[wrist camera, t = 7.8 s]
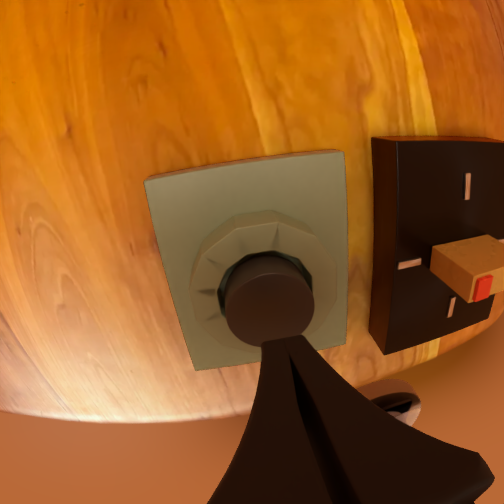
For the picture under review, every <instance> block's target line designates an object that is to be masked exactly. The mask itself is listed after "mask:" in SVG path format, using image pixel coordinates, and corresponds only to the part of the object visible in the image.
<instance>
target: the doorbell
mask: <svg viewBox="0 0 504 504" xmlns="http://www.w3.org/2000/svg"><path fill="white" fill-rule="evenodd" d="M144 187H145V192H146V196H147V201H148V205H149V210H150V214H151V218H152V223H153V227H154V231H155V235H156V239H157V243H158V247H159V251H160V255H161V259H162V263H163V267H164V270H165V274H166V278H167V281H168V285H169V288H170V292H171V295H172V299H173V302H174V306H175V309H176V313H177V316H178V319H179V322H180V326H181V329H182V332H183V335H184V338H185V342H186V345H187V348H188V351H189V354H190V357H191V360H192V363H193V366H194V369H195V371H199V370H207V369H214V368H222V367H229V366H236V365H242V364H249V363H255V362H261V347H255V346H252V345H249V344H246V343H244V342H242V341H241V340H239V339H238V338H237V337H236V336H235V335H234V334H233V333H232V332H231V330H230V329H229V327H228V324H227V321H226V314H225V297H224V290H225V285H226V282H227V279H228V277H229V275H230V274H231V273H232V271H233V270H234V269H235V268H236V267H237V266H238V265H239V264H241V263H242V262H244V261H246V260H248V259H250V258H252V257H255V256H260V255H276V256H280V257H283V258H285V259H288V260H289V261H291V262H292V263H293V264H295V265H296V266H297V267H298V269H299V270H300V272H301V273H302V275H303V277H304V279H305V281H306V283H307V284H308V286H309V288H310V290H311V292H312V294H313V297H314V302H315V310H314V315H313V318H312V320H311V322H310V324H309V326H308V327H307V328H306V330H305V331H304V332H303V333H302V335H303V336H305V337H306V339H307V340H308V341H309V343H310V344H311V345H312V346H313V348H314V349H315V350H316V351H318V350H322V349H327V348H331V347H335V346H340V345H344V344H346V331H347V305H348V217H347V192H346V173H345V158H344V152H343V151H339V150H335V149H332V150H320V151H310V152H300V153H291V154H282V155H274V156H266V157H259V158H252V159H245V160H238V161H231V162H225V163H218V164H212V165H206V166H201V167H195V168H189V169H184V170H179V171H174V172H168V173H163V174H159V175H154V176H149V177H148V178H147V179H146V180H144Z"/></svg>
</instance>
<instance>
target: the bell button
mask: <svg viewBox="0 0 504 504" xmlns="http://www.w3.org/2000/svg"><path fill="white" fill-rule="evenodd" d="M224 297H225V314H226V321H227V324H228V327H229V329H230V330H231V332H232V333H233V334H234V335H235V336H236V337H237V338H238V339H239V340H241V341H242V342H244V343H246V344H249V345H252V346H255V347H261V344H262V343H263V342H264V341H269V340H275V339H280V338H286V337H291V336H296V335H301V334H302V333H303V332H304V331H305V330H306V328H307V327H308V326H309V324H310V322H311V320H312V318H313V315H314V310H315V302H314V297H313V294H312V292H311V290H310V288H309V286H308V284H307V283H306V281H305V279H304V277H303V275H302V273H301V272H300V270H299V269H298V267H297V266H296V265H295V264H293V263H292V262H291V261H289V260H288V259H285V258H283V257H280V256H276V255H260V256H255V257H252V258H250V259H248V260H246V261H244V262H242V263H241V264H239V265H238V266H237V267H236V268H235V269H234V270H233V271H232V273H231V274H230V275H229V277H228V279H227V282H226V285H225V290H224Z"/></svg>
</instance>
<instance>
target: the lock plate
mask: <svg viewBox="0 0 504 504" xmlns="http://www.w3.org/2000/svg"><path fill="white" fill-rule="evenodd" d="M371 139H372V155H373V178H374V258H373V281H372V297H371V310H370V322H369V333H370V335H371V336H372V338H373V339H374V341H375V342H376V344H377V345H378V347H379V348H380V350H381V352H382V353H383V355H387V354H391V353H394V352H397V351H401V350H404V349H407V348H410V347H413V346H416V345H419V344H422V343H425V342H428V341H431V340H434V339H436V338H439V337H442V336H445V335H447V334H450V333H453V332H455V331H458V330H461V329H463V328H466V327H468V326H471V325H473V324H476V323H478V322H480V321H483V320H485V319H488V318H489V314H490V311H491V307H492V304H493V300H494V296H495V294H492V295H489V297H488V298H485V299H482V300H480V301H477V302H474V301H473V302H471V303H467V302H466V301H465V300H464V299H463V298H462V297H461V296H459V295H458V294H457V293H456V292H455V291H454V290H453V289H451V288H450V287H449V286H448V285H447V284H446V283H444V282H443V281H442V280H441V279H440V278H438V277H437V276H436V275H435V274H434V273H432V272H431V271H430V263H431V254H432V246H436V245H440V244H445V243H450V242H455V241H459V240H464V239H469V238H473V237H478V236H483V235H487V234H488V235H490V236H491V237H493V238H495V239H497V240H498V241H500V242H502V243H503V244H504V141H501V140H496V139H491V138H482V137H460V136H383V137H372V138H371Z"/></svg>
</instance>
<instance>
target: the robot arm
mask: <svg viewBox="0 0 504 504" xmlns="http://www.w3.org/2000/svg"><path fill="white" fill-rule="evenodd" d="M411 404H412V400H411V399H410V398H409V399H406V400H403V401H400V402H397V403H395V404H392V405H389V406H386V407H383V408H380V407H378V406H377V405H375V404H374V403H372V402H371V401H370V400H368V399H367V398H366V397H364V396H363V395H362V394H361V393H359V392H358V391H357V390H356V389H355V388H354V387H352V386H351V385H350V384H349V383H348V382H347V381H346V380H344V379H343V378H342V377H341V376H340V375H339V374H338V373H337V372H336V371H335V370H334V369H333V368H332V367H331V366H330V365H329V364H328V363H327V362H326V361H325V360H324V359H323V358H322V357H321V356H320V354H319V353H318V352H317V351H316V350H315V349H314V348H313V346H312V345H311V344H310V343H309V341H308V340H307V339H306V337H305V336H303V335H302V334H301V335H296V336H291V337H286V338H280V339H275V340H269V341H264V342H263V343H262V344H261V368H260V375H259V381H258V386H257V391H256V396H255V399H254V403H253V406H252V410H251V414H250V417H249V420H248V423H247V426H246V429H245V432H244V434H243V436H242V439H241V441H240V444H239V446H238V448H237V450H236V453H235V455H234V457H233V459H232V461H231V463H230V465H229V467H228V469H227V471H226V473H225V475H224V476H223V478H222V480H221V481H220V483H219V485H218V487H217V488H216V490H215V492H214V493H213V495H212V497H211V498H210V500H209V501H208V503H207V504H475V503H474V501H475V500H476V499H477V498H478V497H479V496H480V495H481V494H483V493H484V492H485V491H486V490H487V489H488V488H489V487H490V486H491V485H492V483H493V481H494V479H495V477H494V475H493V474H492V472H491V470H490V469H489V467H488V465H487V464H486V462H485V461H484V460H483V458H482V457H481V456H480V455H479V453H477V452H474V451H471V450H467V449H464V448H460V447H457V446H454V445H451V444H448V443H445V442H443V441H441V440H438V439H436V438H434V437H431V436H429V435H427V434H425V433H423V432H420V431H419V430H417V429H415V428H413V427H411V426H409V425H408V424H407V423H406V418H407V416H408V413H409V410H410V407H411Z"/></svg>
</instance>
